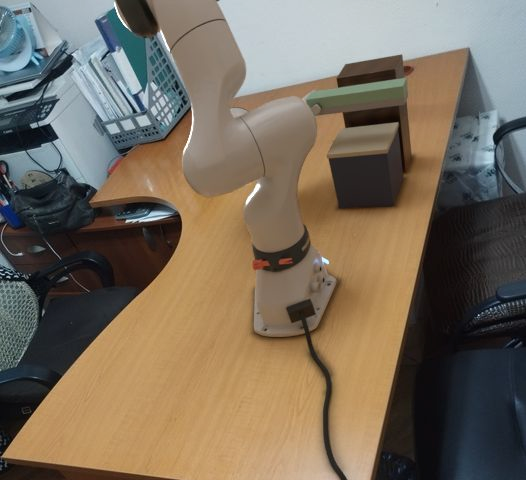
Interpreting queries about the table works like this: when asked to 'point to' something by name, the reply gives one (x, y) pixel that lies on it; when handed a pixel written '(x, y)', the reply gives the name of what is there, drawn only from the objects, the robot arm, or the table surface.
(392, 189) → the archive box
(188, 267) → the table surface
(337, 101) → the green box
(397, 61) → the shelf
